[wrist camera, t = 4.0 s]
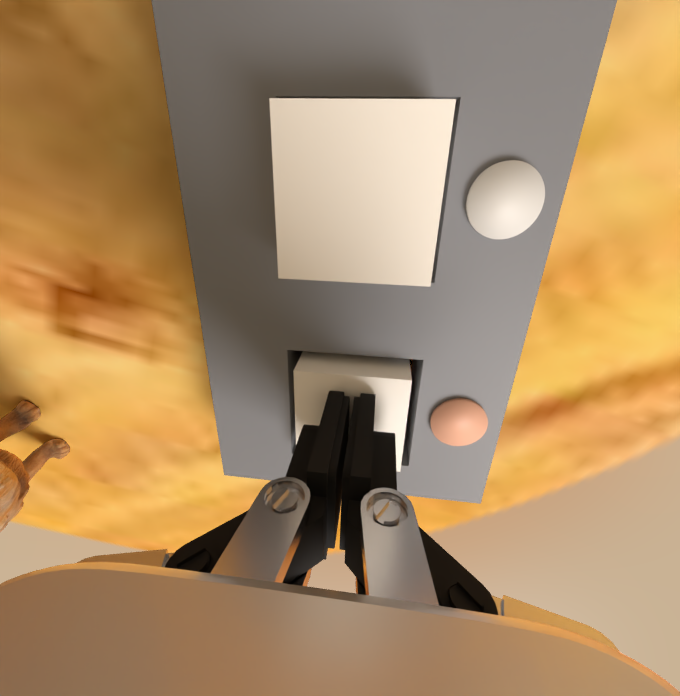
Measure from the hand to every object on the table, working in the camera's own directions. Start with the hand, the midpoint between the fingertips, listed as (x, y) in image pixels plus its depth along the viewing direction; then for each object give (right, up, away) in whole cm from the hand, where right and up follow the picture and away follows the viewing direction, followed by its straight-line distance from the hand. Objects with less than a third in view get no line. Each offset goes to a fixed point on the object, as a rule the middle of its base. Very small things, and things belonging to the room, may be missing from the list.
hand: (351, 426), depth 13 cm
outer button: (0, +2, +3) cm, 3 cm away
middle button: (0, +8, -1) cm, 8 cm away
